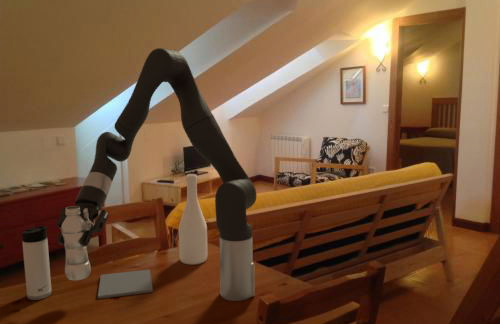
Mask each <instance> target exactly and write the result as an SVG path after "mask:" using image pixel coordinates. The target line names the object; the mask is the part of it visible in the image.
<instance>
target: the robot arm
mask: <svg viewBox="0 0 500 324" xmlns="http://www.w3.org/2000/svg"><path fill="white" fill-rule="evenodd" d="M162 83H168V84H169V85H170V87H171V88H172V90H173V92H174V93H175V94H174V95H176V98H177V99H178V100H177V101H178V102H179V106H180V107H179V108H180V118H181V126H182V127H183V130H184V132H185V134H186V137H187V138H188V140H189V142H190V144H191V146H192V147H193V148H194V150H195V151H196V152H197V153H198V154H199V155H200V156H201V157H202V158H204V160H206V161H207V162H208V163H209V164H210V165H211V166H212V167H213V168H214V170H215V171H216V172H217V175H218V176H219V177H220V180H221V182H222V184H220V185H219V186H218V188H217V190H216V193H215V197H214V198H215V199H214V201H215V202H214V204H215V205H214V206H215V219H216V220H215V223H216V227H217V230H218V232H219V282H220V283H219V286H220V287H219V289H220V290H219V291H220V296H221V298H223V299H224V300H227V301H231V302H241V301H246V300H247V299H249V298H251V297H255V296H256V295H255V293H256V292H255V291H256V290H255V286H256V285H255V282H256V279H255V274H256V273H255V269H256V268H255V265H256V264H255V263H254V261H253V226H252V225H251V224H249V223H248V221H247V210H248V209H250V208H251V207H253V206H254V205H255V203H256V200H257V190H256V186H255V185H254V183H253V181H252V180H251V178H250V177H249V175H248V174H247V173H246V171H245V170H244V168H243V166H242V165H241V164H240V162H239V161H238V159H237V157H236V156H235V154H234V151H233V150H232V148H231V146H230V144H229V143H228V141H227V138H226V137H225V135H224V133H223V131H222V129H221V127H220V125H219V123H218V122H217V120H216V118H215V116H214V113H212V111H211V109H210V108H209V105H208V104H207V101H206V100H205V98H204V97H203V95H202V93H201V91H200V89H199V87H198V84H197V82H196V79H195V77H194V75H193V72H192V70H191V68H190V65H189V63H188V60H187V59H186V58H185V56H184V55H183V54H182V53H181V52H179V51H176V50H174V49H169V48H161V47H158V48H155V49H153V50H152V51H150V52H149V54H148V55H147V57H146V59H145V61H144V64H143V66H142V69H141V71H140V74H139V76H138V79H137V81H136V83H135V86H134V89H133V90H132V93H131V96H130V98H129V99H128V101H127V103H126V105H125V107H124V108H123V109H122V112H121V113H120V115H119V116H118V118H117V119H116V121H115V123H114V129H115V130H116V132H117V133H118V134H119V135H120V136H121V137H120V136H118V135H116V134H114V133H112V132H109V131H105V132H102V133H101V134H100V135H99V136H98V137H97V140H96V144H95V155H94V159H93V163H92V166H91V168H90V170H89V172H88V175H87V176H86V178H85V179H84V181H83V183H82V186H81V187H80V190H79V192H78V194H77V195H76V198H75V204H74V206H79V207H80V211H81V214H80V216H81V217H82V218H83V219H84V221H85V223H86V230H87V231H85V232H84V234H83V236H82V239H81V241H80V244H81V245H82V246H85V247H86V246H87V247H88V245H89V243H90V241H91V239H92V236H93V235H94V234H95V233H98V234H100V233H101V232H102V230H103V228H104V226H105V224H106V222H107V220H108V218H109V217H110V214H109V213H108V212H107V211H106V210H105V209H103V207H104V205H105V203H106V200H107V197H108V195H109V193H110V191H111V187H112V183H113V181H114V178H115V176H116V174H117V171H118V167H117V164H116V162H119V163H120V162H121V163H122V162H124V161H126V160H128V159H129V157H130V154H131V152H132V149H133V144H134V142H135V141H134V140H135V138H136V136H137V134H138V132H139V131H140V129H141V128H142V126H143V125H144V123H145V122H146V120H147V117H148V115H149V112H150V105H151V100H152V97H153V95H154V94H155V91H156V90H157V89H158V88H159V86H160V85H161V84H162ZM122 137H123V138H122ZM113 160H114V161H116V162H114V161H113ZM66 208H67V207H65V206H64V207H63V208H62V209H61V212H60V214H59V217H58V219H57V222H56V227H58V228H59V229H60V232H58V236H57V238H56V241H57V244H60V245H61V246H62V245H65V243H64V239H63V235H62V231H61V227H62V224H63V222H64V220H65V219H66V217H67V216H66V215H65V213H66V210H65V209H66ZM95 219H96V220H95Z"/></svg>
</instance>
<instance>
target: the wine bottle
mask: <svg viewBox="0 0 500 324" xmlns="http://www.w3.org/2000/svg"><path fill="white" fill-rule="evenodd" d="M185 181H186V202H185V205H184V209H183V213H182V216H181V218H180V221H179V226H178V249H179V260H180V262H181V263H183V264H185V265H190V266H191V265H194V266H195V265H200V264H202V263H205V261H207V259H208V225H207V222H206V220H205V219H206V218H205V217H204V214H203V211H202V208H201V205H200V202H199V199H198V185H197V182H198V176H197V174H195V173H188V174H187V175H186V177H185Z"/></svg>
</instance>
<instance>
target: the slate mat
mask: <svg viewBox="0 0 500 324" xmlns="http://www.w3.org/2000/svg"><path fill="white" fill-rule="evenodd" d="M148 293H153V283H152V275H151V269H143V270H141V269H140V270H134V271H133V270H132V271H131V270H130V271H124V272H115V273H106V274H100V277H99V285H98V293H97V299H98V300H99V299H108V298H116V297H123V296H124V297H125V296H132V295H139V294H148Z"/></svg>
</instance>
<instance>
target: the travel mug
mask: <svg viewBox="0 0 500 324" xmlns="http://www.w3.org/2000/svg"><path fill="white" fill-rule="evenodd" d="M47 230H48V226H45V225H44V226H43V225H42V226H34V227H31V228H27V229H25V231H22V232H21V236H22V237H21V238H22V240H21V241H22V243H21V244H22V253H23V264H24V278H25V285H26V286H25V287H26V296H27V297H26V298H27V299H28V300H32V301H38V300H43V299H45V298H48V297H50V296H51V294H52V282H51V280H52V279H51V269H50V266H51V265H50V256H49V244H48V243H49V242H48V233H47Z"/></svg>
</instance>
